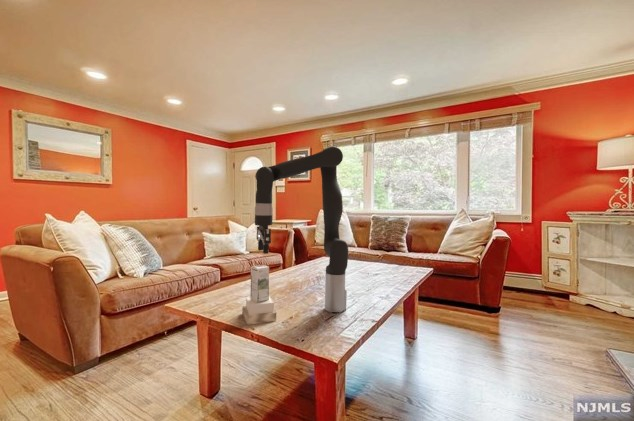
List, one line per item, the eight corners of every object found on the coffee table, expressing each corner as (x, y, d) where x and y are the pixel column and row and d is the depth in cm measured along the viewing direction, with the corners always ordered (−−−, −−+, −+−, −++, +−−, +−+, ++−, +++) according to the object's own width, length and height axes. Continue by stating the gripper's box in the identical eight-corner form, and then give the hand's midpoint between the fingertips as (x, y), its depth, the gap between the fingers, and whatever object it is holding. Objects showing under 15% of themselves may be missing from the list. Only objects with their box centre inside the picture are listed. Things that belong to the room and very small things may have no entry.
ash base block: (269, 311, 129) (269, 302, 129) (276, 321, 118) (276, 312, 118) (242, 315, 124) (242, 306, 124) (247, 326, 113) (247, 316, 113)
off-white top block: (268, 303, 128) (268, 295, 128) (273, 312, 118) (273, 302, 118) (246, 306, 124) (246, 297, 124) (249, 315, 115) (249, 305, 115)
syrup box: (261, 297, 125) (261, 264, 125) (269, 300, 121) (269, 266, 120) (250, 299, 121) (250, 266, 121) (257, 303, 117) (257, 268, 117)
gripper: (277, 214, 116) (276, 254, 117) (267, 213, 129) (267, 248, 129) (259, 215, 113) (258, 255, 113) (251, 213, 126) (250, 249, 126)
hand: (263, 251), depth 121 cm, fingers open, 8 cm apart
